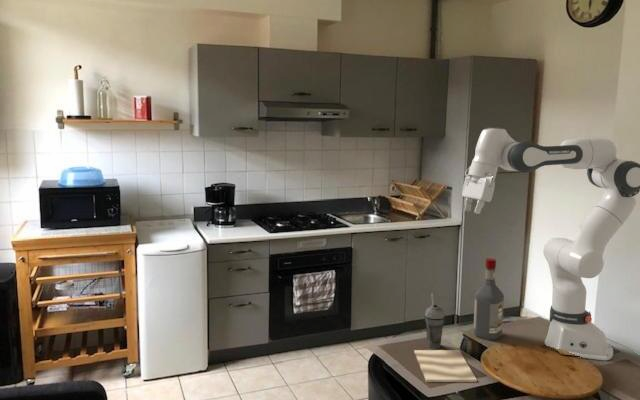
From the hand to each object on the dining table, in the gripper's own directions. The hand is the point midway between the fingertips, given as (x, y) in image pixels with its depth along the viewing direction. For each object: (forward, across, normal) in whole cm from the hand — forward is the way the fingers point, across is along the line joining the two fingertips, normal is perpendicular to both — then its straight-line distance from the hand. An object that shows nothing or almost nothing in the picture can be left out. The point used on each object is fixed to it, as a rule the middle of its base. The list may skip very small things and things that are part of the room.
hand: (471, 212), depth 187 cm
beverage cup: (+51, +11, -4) cm, 53 cm away
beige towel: (+53, -5, -3) cm, 53 cm away
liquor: (+44, +19, -26) cm, 55 cm away
